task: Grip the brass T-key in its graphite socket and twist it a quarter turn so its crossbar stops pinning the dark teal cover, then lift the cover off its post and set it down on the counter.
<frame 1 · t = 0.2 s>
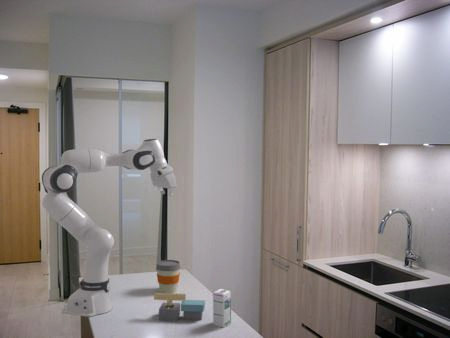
hand: (167, 194, 232), 52 cm above the counter, tool tilted 20°, fingers open, 8 cm apart
syrup box: (221, 324, 197), on the counter
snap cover: (193, 308, 203), point 4 cm above the counter, touching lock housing
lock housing: (180, 317, 204), on the counter
T-key: (169, 316, 204), resting in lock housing
reusable coffee cup: (168, 291, 241), on the counter
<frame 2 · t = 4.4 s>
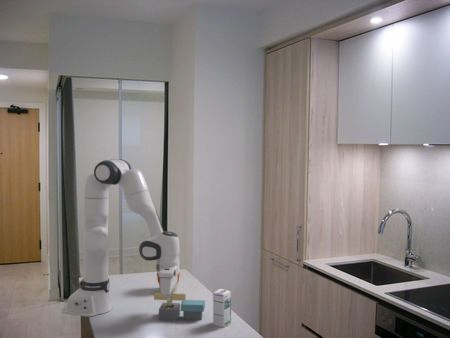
hand: (169, 298, 204), 8 cm above the counter, tool pointing down, fingers closed on T-key, 2 cm apart
T-key: (169, 316, 204), resting in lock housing, touching gripper
everything else where it was.
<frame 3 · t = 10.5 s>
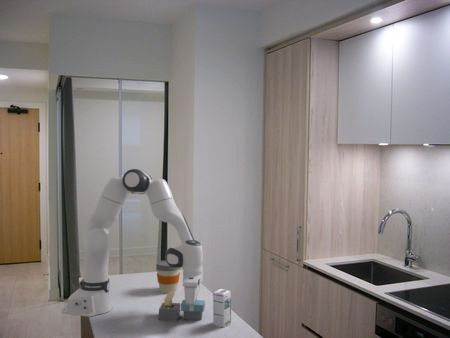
hand: (193, 307, 203), 5 cm above the counter, tool pointing down, fingers closed on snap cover, 6 cm apart
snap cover: (193, 308, 203), point 4 cm above the counter, touching gripper, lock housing
T-key: (169, 317, 204), resting in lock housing
everything else where it was.
when the fingers open (3 cm above the counter, at t = 18.0 s): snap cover drops 2 cm, on the counter.
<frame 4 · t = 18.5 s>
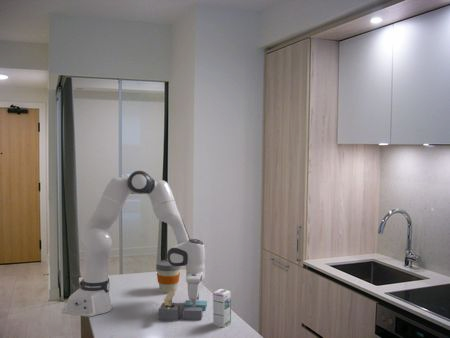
hand: (195, 302, 215), 3 cm above the counter, tool pointing down, fingers open, 8 cm apart
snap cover: (195, 308, 216), on the counter
everything else where it was.
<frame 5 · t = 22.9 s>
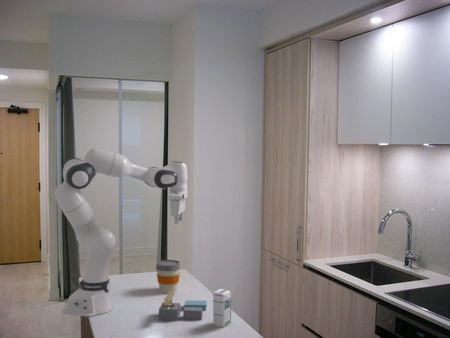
hand: (178, 222, 224), 39 cm above the counter, tool pointing down, fingers open, 8 cm apart
nothing on the counter moved.
at the end: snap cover inside the target area (0.1 cm from its centre), on the counter; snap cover tilted 0°; T-key 0.1 cm from the target spot, resting in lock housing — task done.
